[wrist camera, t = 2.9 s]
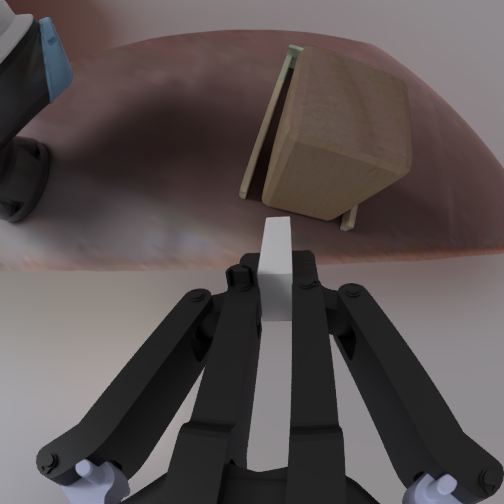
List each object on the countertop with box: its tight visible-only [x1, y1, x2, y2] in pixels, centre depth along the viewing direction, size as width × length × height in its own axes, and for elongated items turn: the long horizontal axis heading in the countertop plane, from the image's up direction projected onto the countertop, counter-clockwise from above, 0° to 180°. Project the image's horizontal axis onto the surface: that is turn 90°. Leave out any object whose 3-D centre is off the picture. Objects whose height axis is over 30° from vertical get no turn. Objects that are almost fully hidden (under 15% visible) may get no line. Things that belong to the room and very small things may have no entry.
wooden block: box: [262, 46, 412, 221], centre depth 27 cm, size 10×10×20 cm
